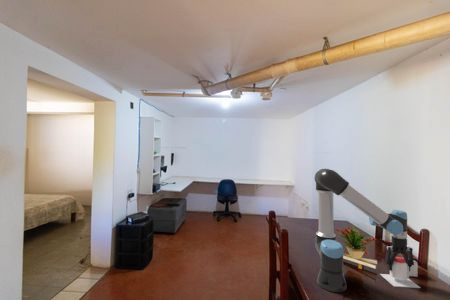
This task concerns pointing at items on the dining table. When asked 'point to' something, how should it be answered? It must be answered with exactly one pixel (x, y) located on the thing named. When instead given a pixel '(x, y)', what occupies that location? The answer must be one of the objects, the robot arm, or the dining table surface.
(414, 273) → the housing
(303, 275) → the dining table surface
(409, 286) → the mat
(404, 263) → the pill bottle
